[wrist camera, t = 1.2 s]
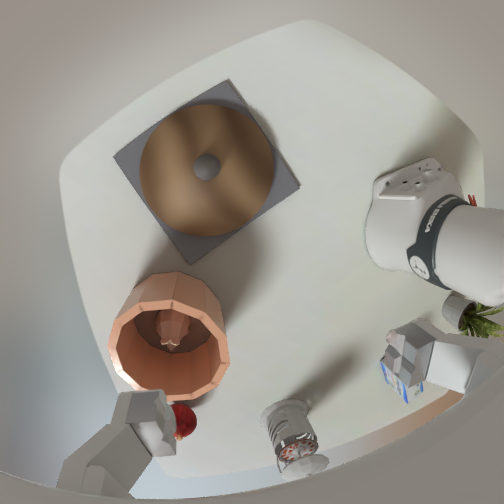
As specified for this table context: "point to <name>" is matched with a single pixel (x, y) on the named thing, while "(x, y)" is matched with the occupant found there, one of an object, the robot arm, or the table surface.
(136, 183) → the mat
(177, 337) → the mouse figurine
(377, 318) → the table surface
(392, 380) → the medicine box
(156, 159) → the lid
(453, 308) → the house plant
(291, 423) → the french press
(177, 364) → the flower pot
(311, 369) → the table surface
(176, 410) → the red pomegranate
